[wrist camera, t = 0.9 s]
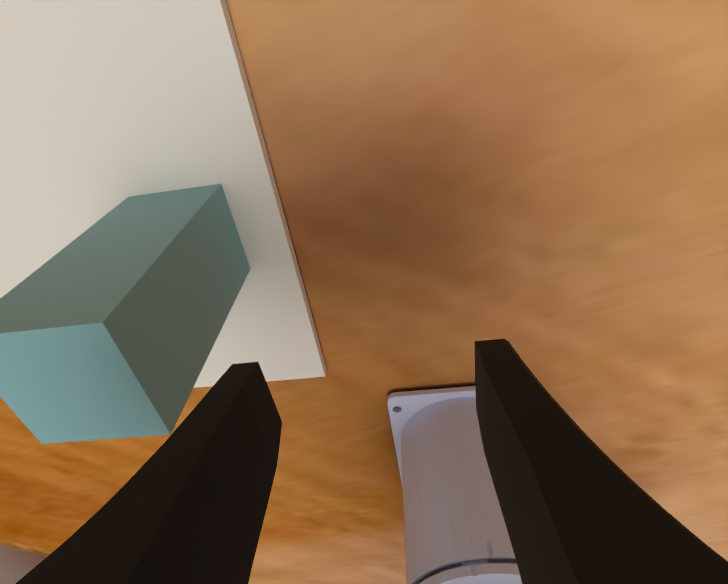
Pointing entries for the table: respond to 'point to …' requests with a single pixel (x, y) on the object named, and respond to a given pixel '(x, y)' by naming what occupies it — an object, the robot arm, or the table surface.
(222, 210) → the teal block
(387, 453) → the table surface
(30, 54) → the white mat
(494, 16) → the table surface
